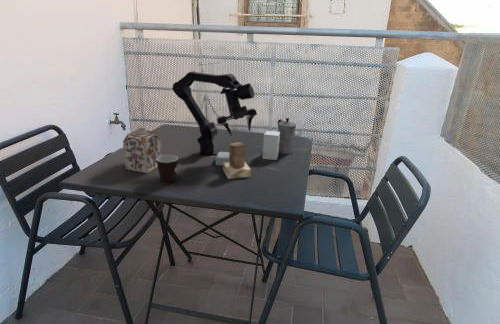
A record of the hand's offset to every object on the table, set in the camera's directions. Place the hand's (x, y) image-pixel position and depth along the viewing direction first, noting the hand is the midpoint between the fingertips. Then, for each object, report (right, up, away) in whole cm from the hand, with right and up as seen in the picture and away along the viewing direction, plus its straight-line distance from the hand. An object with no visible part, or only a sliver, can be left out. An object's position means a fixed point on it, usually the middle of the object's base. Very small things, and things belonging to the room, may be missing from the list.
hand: (240, 133), depth 161 cm
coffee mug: (-28, -21, -21) cm, 41 cm away
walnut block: (-1, -15, -14) cm, 21 cm away
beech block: (-1, -19, -12) cm, 23 cm away
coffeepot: (+23, -8, +17) cm, 30 cm away
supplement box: (+15, -11, +8) cm, 20 cm away
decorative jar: (-43, -16, -9) cm, 47 cm away
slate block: (-7, -14, -1) cm, 16 cm away
